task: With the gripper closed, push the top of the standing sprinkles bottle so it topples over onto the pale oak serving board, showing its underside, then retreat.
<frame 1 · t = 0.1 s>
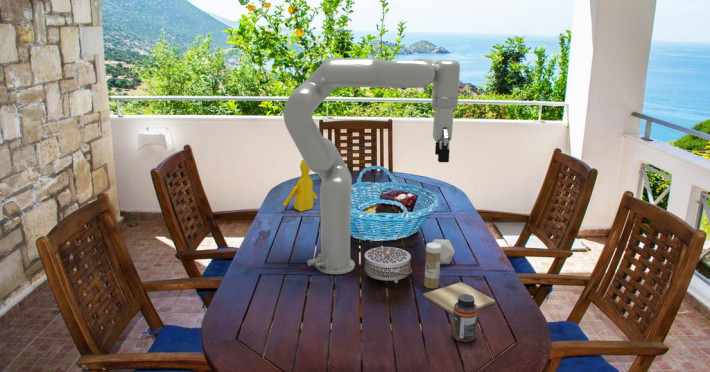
hand: (441, 158, 177), 37 cm above the table, tool pointing down, fingers open, 9 cm apart
board: (458, 299, 167), on the table
die: (440, 262, 193), on the table
sprinkles bottle: (431, 286, 176), on the table
figure statuette: (303, 210, 243), on the table
supplement bottle: (463, 337, 148), on the table
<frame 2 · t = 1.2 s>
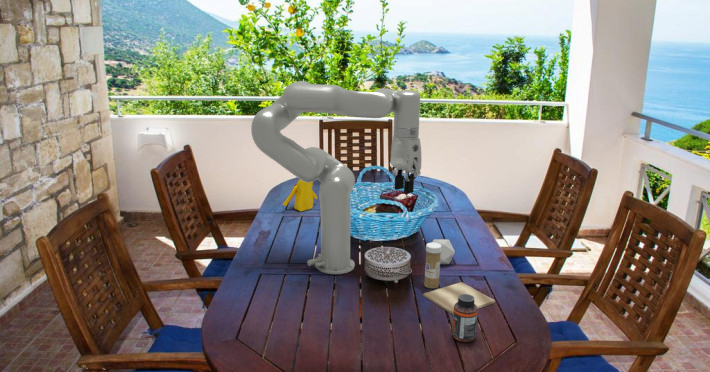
hand: (403, 190, 177), 27 cm above the table, tool pointing down, fingers open, 4 cm apart
nothing on the table moved.
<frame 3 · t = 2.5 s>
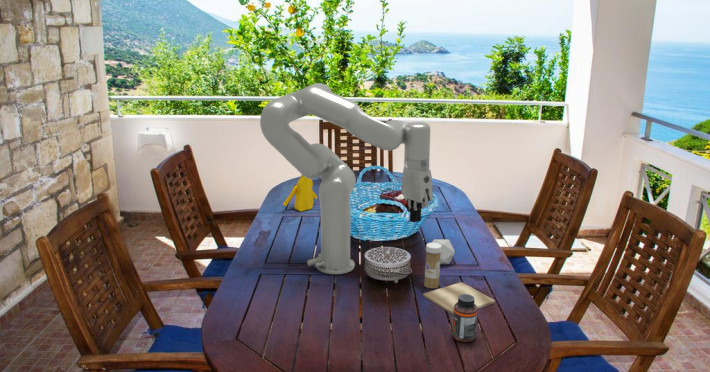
hand: (415, 220, 179), 18 cm above the table, tool pointing down, fingers closed
nothing on the table moved.
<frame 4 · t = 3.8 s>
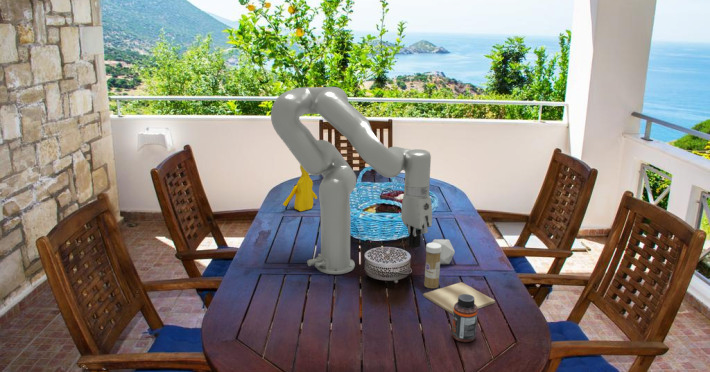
hand: (414, 246, 180), 10 cm above the table, tool pointing down, fingers closed
nothing on the table moved.
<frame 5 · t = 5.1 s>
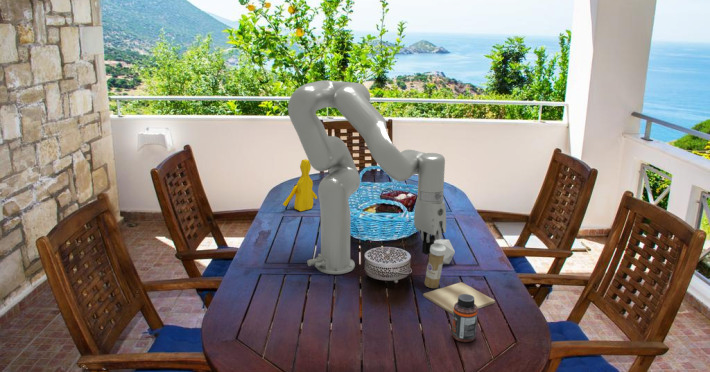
hand: (427, 252, 175), 10 cm above the table, tool pointing down, fingers closed
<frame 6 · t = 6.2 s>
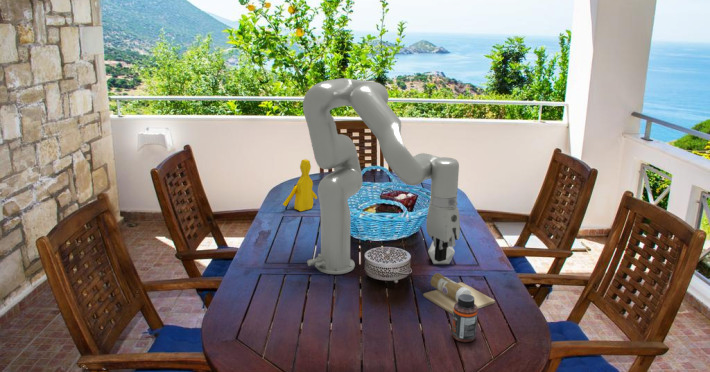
hand: (440, 259, 170), 10 cm above the table, tool pointing down, fingers closed
sprinkles bottle: (435, 279, 173), point 3 cm above the table, touching board
everything else where it was.
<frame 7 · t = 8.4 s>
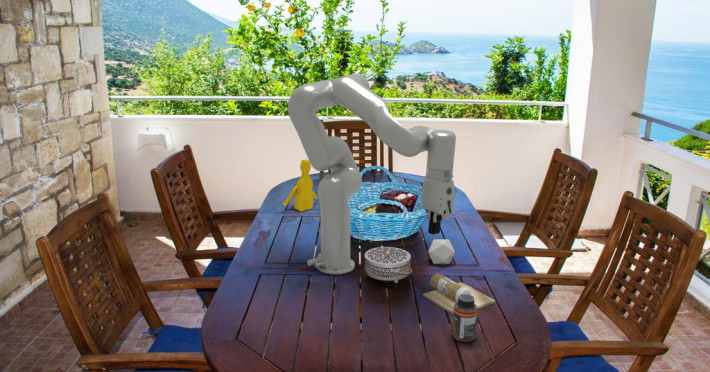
hand: (433, 232, 170), 17 cm above the table, tool pointing down, fingers closed
nothing on the table moved.
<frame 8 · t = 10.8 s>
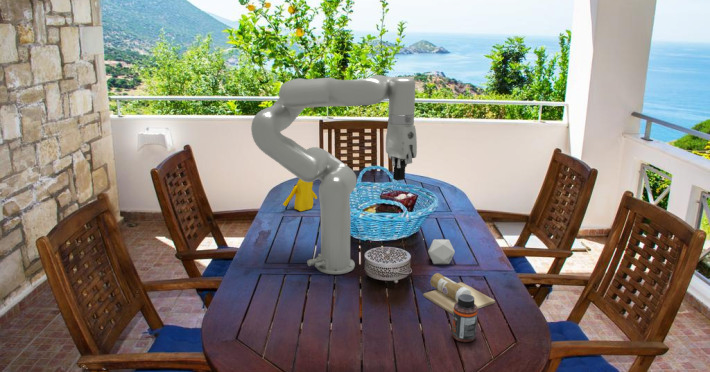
hand: (399, 179, 175), 31 cm above the table, tool pointing down, fingers closed
nothing on the table moved.
at the end: sprinkles bottle tilted 89°; sprinkles bottle inside the target area (8.3 cm from its centre), point 2.8 cm above the table; the gripper is holding nothing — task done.
